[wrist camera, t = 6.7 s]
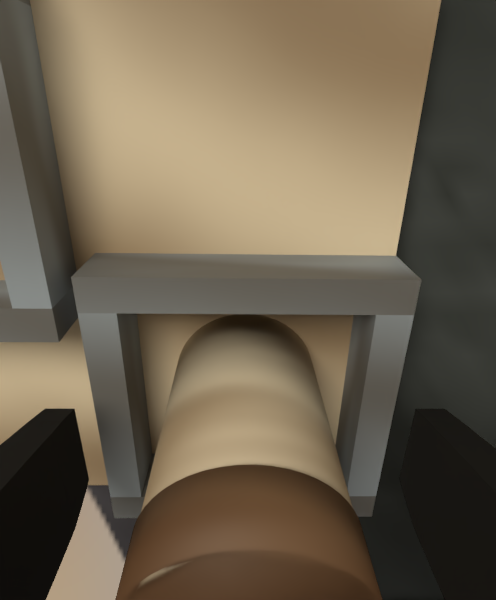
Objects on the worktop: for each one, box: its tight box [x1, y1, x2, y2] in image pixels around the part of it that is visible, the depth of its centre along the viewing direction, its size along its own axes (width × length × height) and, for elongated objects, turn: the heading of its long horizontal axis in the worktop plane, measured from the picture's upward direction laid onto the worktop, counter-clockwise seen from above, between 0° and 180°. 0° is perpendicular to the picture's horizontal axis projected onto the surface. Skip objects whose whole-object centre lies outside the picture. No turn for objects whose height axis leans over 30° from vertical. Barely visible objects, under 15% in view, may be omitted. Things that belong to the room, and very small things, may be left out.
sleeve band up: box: [116, 314, 382, 600], centre depth 8 cm, size 4×4×6 cm
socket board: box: [0, 0, 441, 518], centre depth 10 cm, size 13×15×2 cm
